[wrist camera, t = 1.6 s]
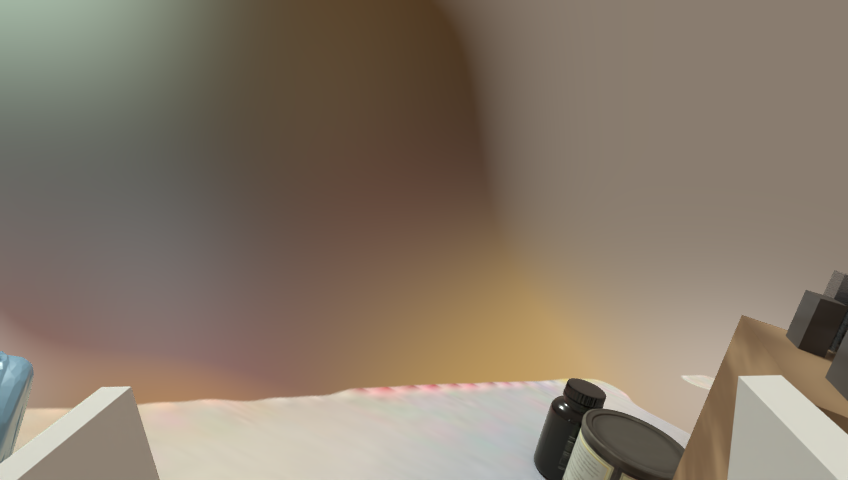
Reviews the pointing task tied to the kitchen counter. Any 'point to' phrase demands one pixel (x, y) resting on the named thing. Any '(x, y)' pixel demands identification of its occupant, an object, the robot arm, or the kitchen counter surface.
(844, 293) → the grey bar
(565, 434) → the supplement bottle
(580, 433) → the coffee can
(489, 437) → the kitchen counter surface
